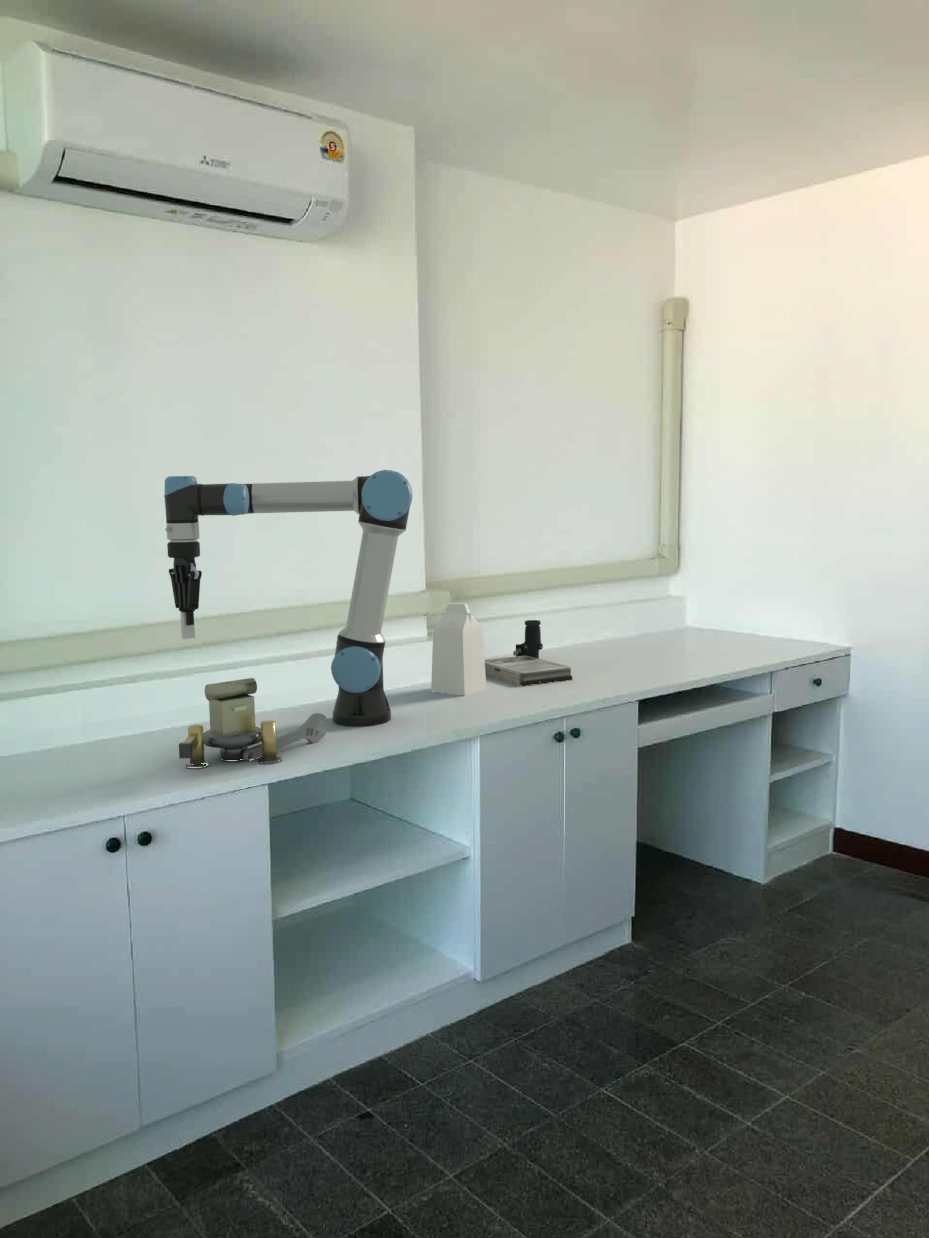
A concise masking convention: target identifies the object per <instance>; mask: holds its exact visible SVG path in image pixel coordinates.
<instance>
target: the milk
mask: <svg viewBox="0 0 929 1238" xmlns="http://www.w3.org/2000/svg"><path fill="white" fill-rule="evenodd" d="M432 631H433V632H432V651H431V652H432V658H431V659H432V660H431V682H430V683H431V685H430V688H431V690H430V692H431V691H434V692H433V693H435V692H440V693H439V694H444V693H447V694H446V695H452V694H453V695H454V696H460V695H466V696H470V695H472V693H473V694H475V693H474V692H476V693H478V692H477V691H479V692H482V691H485V690H484V689H486V690H487V676H486V674H485V660H486V659H485V647H484V636H483V634H484V633H483V628H482V626H481V623H479V621H478V620H477V619H476V618H475V617H474V616H473V614H471V611H470V608H469V606H468V603H462V602H461V603H460V602H448V603H447V606H446V608H445V611H444V613H443V614H442V616H441V617H440V619H439V620H438V622H437V623H436V624H435V626H434V628H433V630H432ZM469 694H470V695H469Z"/></svg>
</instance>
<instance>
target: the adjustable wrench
mask: <svg viewBox="0 0 929 1238" xmlns="http://www.w3.org/2000/svg"><path fill="white" fill-rule="evenodd" d="M320 721H326V722H327V721H328V718H327V716H326V715H325V714H323V713H319V712H317V713H316V712H315V713H312V714H311V715H310V716H309V717H308V718H307V720H305V722H304V723H303V724H302V725H301V726H300V727H299V728H296V729H295V730H291V731H290V732H287V733H285V734H282V735H280V736H278V737H277V736H276V745H277V751H279V750H281V749H283V748H285V747H288V746H290V745H291V744H294V743H297V742H299V741H300V740H303V739H304V740H307V743H309V744H315V743H316V742H318V741H320V740H322V739H323V737H325V735H326V732H325V731H320V730H318V725H319V723H320ZM250 754H251V755H250ZM249 755H250V758H251V759H256V758H258V757H261V758H262V743H258V745H257V744H256V745H255V746H254V745H253V746H252V747H250V748H249V747H248V749H247V750H245V751H244V753H243V758H244V760H243V761H245V760H250V758H249Z"/></svg>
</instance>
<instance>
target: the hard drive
mask: <svg viewBox="0 0 929 1238" xmlns="http://www.w3.org/2000/svg"><path fill="white" fill-rule="evenodd" d="M484 660H485V674H486V675H487V676H486V677H489V676H490V677H489V678H492V679H496V678H498V679H497V680H499V679H501V680H500V681H504V682H506V681H508V682H507V683H509V682H511V683H510V684H513V685H516V684H519V685H522V686H521V687H526V686H525V685H529V686H531V685H530V684H537V685H543V683H544V684H549V683H548V682H552V683H555V682H554V681H560V682H566V681H567V680H568V681H573V675H572V667H571V666H568V665H566V664H561V663H557V662H553V661H548V660H546V659H545V660H544V659H541V658H539V659H537V658H533V657H529V656H517V657H516V656H508V657H501V658H492V659H491V658H490V659H484ZM519 685H518V686H519Z"/></svg>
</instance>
